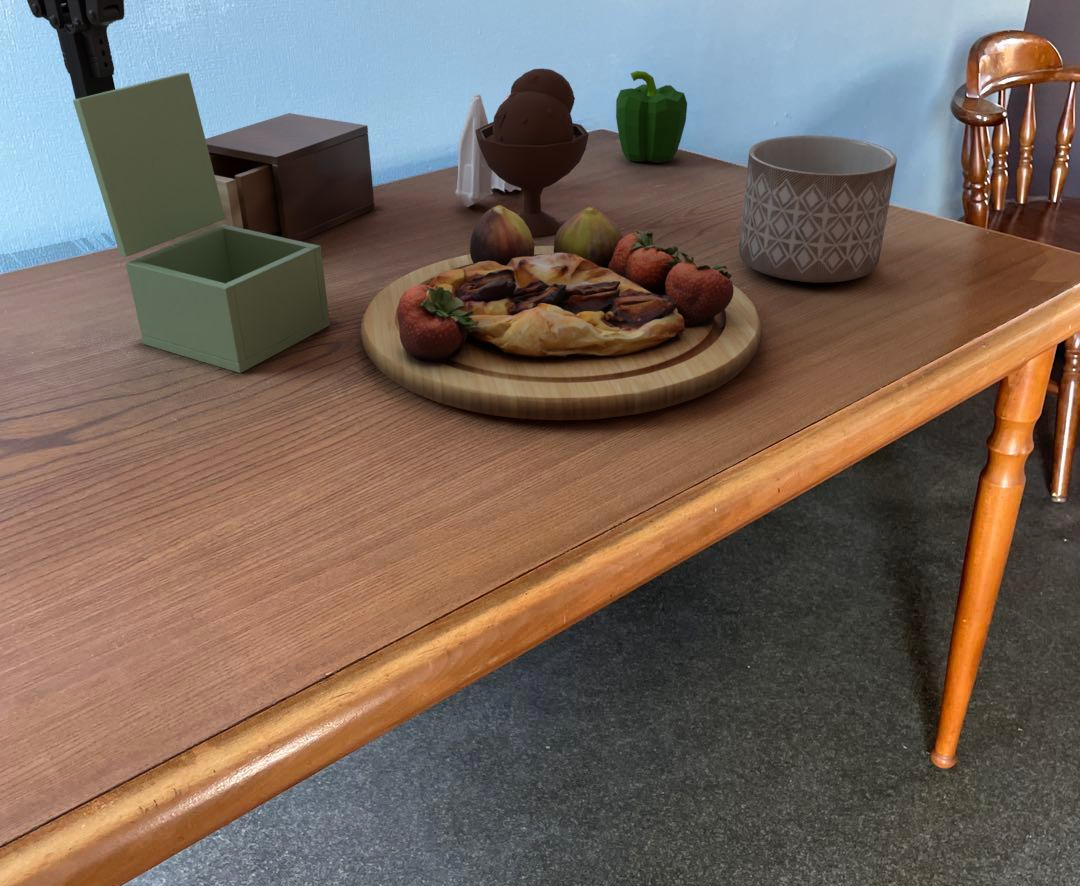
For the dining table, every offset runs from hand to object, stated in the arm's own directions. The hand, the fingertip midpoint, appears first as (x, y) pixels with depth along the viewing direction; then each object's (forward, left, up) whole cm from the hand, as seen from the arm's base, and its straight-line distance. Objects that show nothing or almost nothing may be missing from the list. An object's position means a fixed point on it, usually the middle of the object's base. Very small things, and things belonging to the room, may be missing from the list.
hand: (101, 119), depth 85 cm
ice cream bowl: (+18, +35, -16) cm, 42 cm away
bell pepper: (+17, +64, -16) cm, 68 cm away
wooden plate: (+34, +13, -16) cm, 40 cm away
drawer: (-5, +16, -15) cm, 22 cm away
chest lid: (+6, 0, -3) cm, 6 cm away
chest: (+11, 0, -16) cm, 19 cm away
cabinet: (-5, +25, -16) cm, 30 cm away
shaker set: (+9, +41, -16) cm, 45 cm away
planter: (+46, +38, -16) cm, 62 cm away
